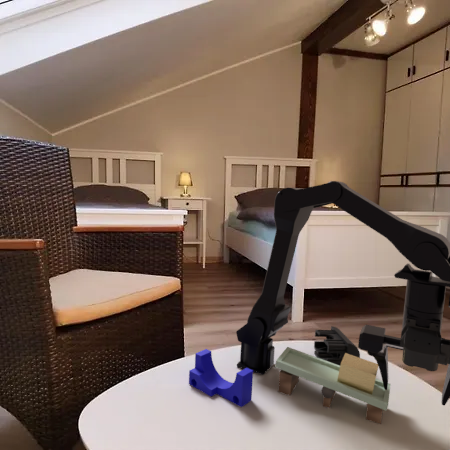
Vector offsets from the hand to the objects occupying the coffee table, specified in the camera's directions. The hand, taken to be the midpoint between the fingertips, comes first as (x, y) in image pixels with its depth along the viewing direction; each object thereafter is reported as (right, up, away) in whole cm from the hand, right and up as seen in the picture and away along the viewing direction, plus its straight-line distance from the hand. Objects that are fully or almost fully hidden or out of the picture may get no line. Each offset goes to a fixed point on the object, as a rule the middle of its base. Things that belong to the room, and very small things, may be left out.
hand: (413, 396), depth 63 cm
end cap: (-7, -3, +22) cm, 23 cm away
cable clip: (-34, -3, +7) cm, 34 cm away
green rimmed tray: (-12, 0, +6) cm, 14 cm away
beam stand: (-13, -4, +7) cm, 15 cm away
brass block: (-8, 0, +4) cm, 9 cm away
